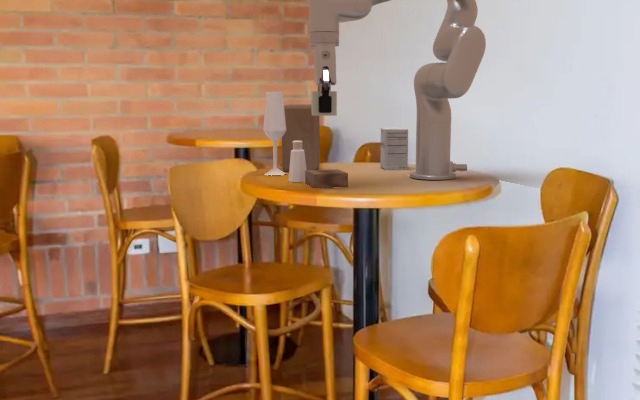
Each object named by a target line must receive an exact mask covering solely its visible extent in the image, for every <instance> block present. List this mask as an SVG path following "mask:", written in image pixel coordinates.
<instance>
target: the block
mask: <svg viewBox="0 0 640 400" xmlns="http://www.w3.org/2000/svg"><path fill="white" fill-rule="evenodd" d="M284 111H285V121H286V132H285V134H284V135H283V136H282V137H281V168H282V169H281V170H282V171H283V170H284V171H283V172H289V167H290V156H291V150H293V143H292V142H293V141H303V143H302V150H304V152H305V161H306V170H319V169H320V165H321V163H320V162H321V161H320V160H321V159H320V157H321V155H320V153H321V152H320V151H321V149H320V147H321V146H320V143H321V142H320V132H321V131H320V116H313V115H312V103H305V104H304V103H299V104H298V103H296V104H295V103H292V104H291V103H290V104H284Z"/></svg>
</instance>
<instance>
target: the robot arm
mask: <svg viewBox="0 0 640 400" xmlns="http://www.w3.org/2000/svg"><path fill="white" fill-rule="evenodd" d="M390 1H391V0H308V3H309V5H308V8H309V10H308V12H309V15H308V16H309V18H308V19H309V20H308V21H309V22H308V23H309V25H308V27H309V28H308V29H309V31H308V32H309V33H308V34H309V37H308V39H309V40H308V41H309V42H308V43H309V44H308V45H309V47H313V65H314V66H313V70H314V71H313V73H314V83H315V85H316V86H317V91H320V97H319V113H331V111H332V97H331V91H332V89H331V87H332V86H336V85H337V57H336V56H337V55H336V47H339V46H340V23H341V24H342V23H347V22H354V21H359V20H363V19H364V18H366V17H367V16H368V15H369V14H370V12H371V11H372V7H374V6H376V5H378V4H382V3H386V2H390ZM446 3H447V8H446V11H445V15H444V18H443V20H442V22H441V24H440V25H439V26H440V27H439V29H438V31H437V33H436V36H435V38H434V41H433V44H432V53H433V55H434V57H435V58H436V59H437V60H439V61H441V62H431V63H427V64H424V65H422V66H421V67H420V68H418V69H417V71H416V72H415V74H414V78H413V91H414V95H415V101H416V102H415V103H416V126H415V127H416V130H415V131H416V132H415V134H416V135H415V136H416V137H415V171H411V172H410V173H409V177H410V178H412V179H415V180H429V181H439V180H440V181H443V180H452V179H455V178H456V172H458V171H460V172H467V171H468V164H466V163H456V162H455V163H454V162H453V161H451V144H452V143H451V140H452V139H451V137H452V135H451V133H452V109H451V108H452V107H451V105H450V101H449V99H459V98H461V97H463V96H464V95H466V94H467V92H468V91H469V90H470V88H471V86H472V84H473V82H474V79H475V77H476V74H477V72H478V70H479V67H480V65H481V63H482V60H483V57H484V54H485V52H486V48H487V47H486V37H485V34H484V32H483V30H482V29H481V28H479V27H478V26H476V25H475V24H476V21H477V17H478V4H477V1H476V0H446Z"/></svg>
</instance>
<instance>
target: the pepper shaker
mask: <svg viewBox="0 0 640 400" xmlns="http://www.w3.org/2000/svg"><path fill="white" fill-rule="evenodd" d="M292 143H293V150H291V156H290V167H289V171H288V182H289V183H293V182H302V183H305V170H306V161H305V152H304V150H302V143H303V141H293V142H292Z"/></svg>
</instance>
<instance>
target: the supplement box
mask: <svg viewBox="0 0 640 400" xmlns="http://www.w3.org/2000/svg"><path fill="white" fill-rule="evenodd" d="M408 152H409V129H408V128H405V127H400V126H399V127H380V164H379V165H380V168H382V169H384V170H385V171H395V170H396V171H398V170H399V171H405V170H408V168H409V165H408V164H409V163H408V162H409V159H408V156H409V153H408Z"/></svg>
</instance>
